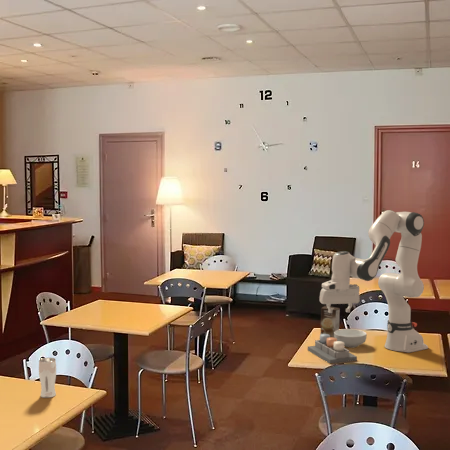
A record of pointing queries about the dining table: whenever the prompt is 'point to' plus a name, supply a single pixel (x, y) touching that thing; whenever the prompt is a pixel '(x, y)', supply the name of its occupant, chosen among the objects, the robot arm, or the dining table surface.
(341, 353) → the grey slotted rack
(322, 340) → the key slate
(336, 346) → the key ivory
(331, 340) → the key terracotta
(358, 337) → the cereal bowl
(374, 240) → the robot arm
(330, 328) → the coffee box
